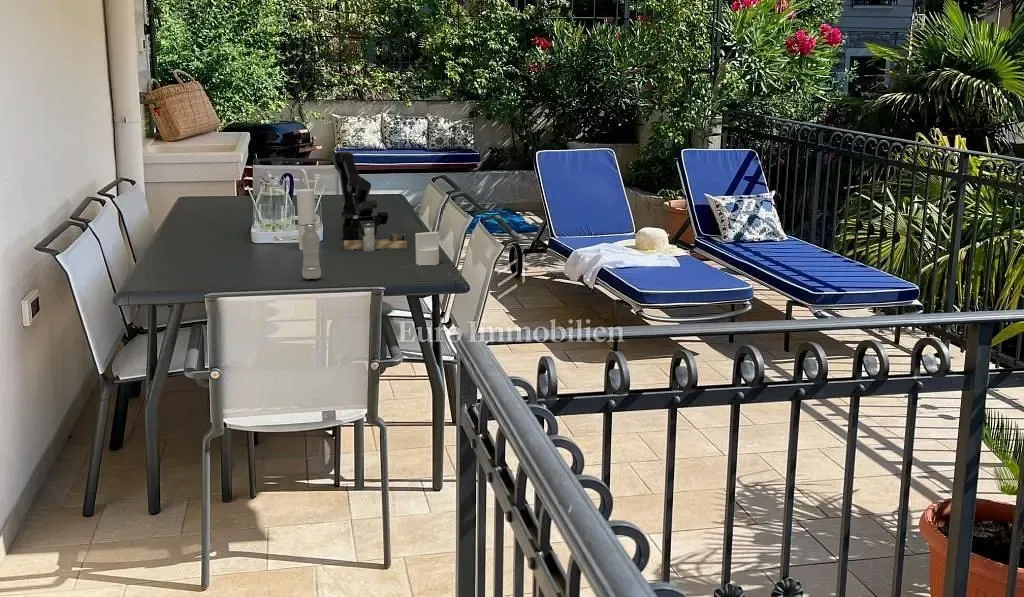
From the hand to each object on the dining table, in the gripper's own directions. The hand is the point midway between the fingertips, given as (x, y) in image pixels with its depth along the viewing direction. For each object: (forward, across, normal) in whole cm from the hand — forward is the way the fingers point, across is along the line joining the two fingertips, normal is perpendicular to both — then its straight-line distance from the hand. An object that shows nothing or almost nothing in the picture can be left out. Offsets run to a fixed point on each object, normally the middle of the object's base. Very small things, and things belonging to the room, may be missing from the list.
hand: (369, 235), depth 418 cm
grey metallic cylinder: (+4, 0, +6) cm, 7 cm away
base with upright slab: (+29, +13, -20) cm, 38 cm away
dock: (-1, +5, +10) cm, 11 cm away
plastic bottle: (+37, -34, -28) cm, 58 cm away
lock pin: (-1, +14, +7) cm, 15 cm away
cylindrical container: (-4, -23, +14) cm, 27 cm away
